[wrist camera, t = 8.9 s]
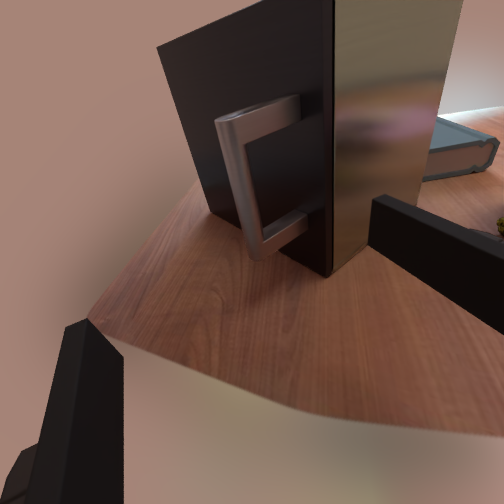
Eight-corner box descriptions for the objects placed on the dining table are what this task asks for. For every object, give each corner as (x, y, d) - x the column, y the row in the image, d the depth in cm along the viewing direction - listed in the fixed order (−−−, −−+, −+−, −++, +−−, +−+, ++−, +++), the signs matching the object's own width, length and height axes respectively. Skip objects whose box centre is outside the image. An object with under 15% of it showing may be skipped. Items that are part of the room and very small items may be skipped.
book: (341, 147, 59) (341, 123, 56) (415, 132, 57) (420, 107, 54) (379, 188, 41) (383, 157, 38) (489, 170, 39) (502, 135, 36)
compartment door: (280, 315, 25) (216, -16, 11) (175, 229, 43) (99, 58, 29) (332, 273, 28) (333, -28, 14) (214, 209, 46) (163, 45, 32)
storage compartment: (333, 273, 29) (335, -33, 14) (216, 209, 46) (164, 43, 32) (416, 204, 36) (473, -45, 22) (287, 172, 53) (271, 23, 39)
